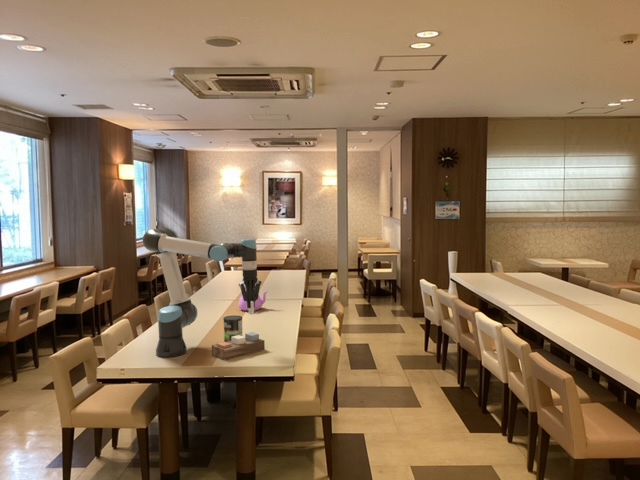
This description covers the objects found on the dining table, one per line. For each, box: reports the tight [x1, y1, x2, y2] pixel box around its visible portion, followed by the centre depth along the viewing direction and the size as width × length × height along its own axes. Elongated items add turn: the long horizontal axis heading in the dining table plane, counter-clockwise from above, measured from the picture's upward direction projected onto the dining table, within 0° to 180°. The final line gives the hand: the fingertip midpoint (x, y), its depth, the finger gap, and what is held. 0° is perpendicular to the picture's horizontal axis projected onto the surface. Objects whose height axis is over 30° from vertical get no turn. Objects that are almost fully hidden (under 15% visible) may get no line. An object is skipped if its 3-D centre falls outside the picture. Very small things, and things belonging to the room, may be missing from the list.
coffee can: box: [223, 315, 244, 342], centre depth 274 cm, size 10×10×14 cm
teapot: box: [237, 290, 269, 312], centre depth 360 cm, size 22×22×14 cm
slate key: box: [244, 331, 260, 341], centre depth 262 cm, size 6×4×3 cm
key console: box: [211, 338, 266, 361], centre depth 257 cm, size 12×24×5 cm, turn 133°
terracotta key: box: [216, 341, 231, 349], centre depth 251 cm, size 6×4×3 cm
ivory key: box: [231, 335, 245, 345], centre depth 257 cm, size 6×4×3 cm
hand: (251, 313), depth 261 cm, fingers closed
